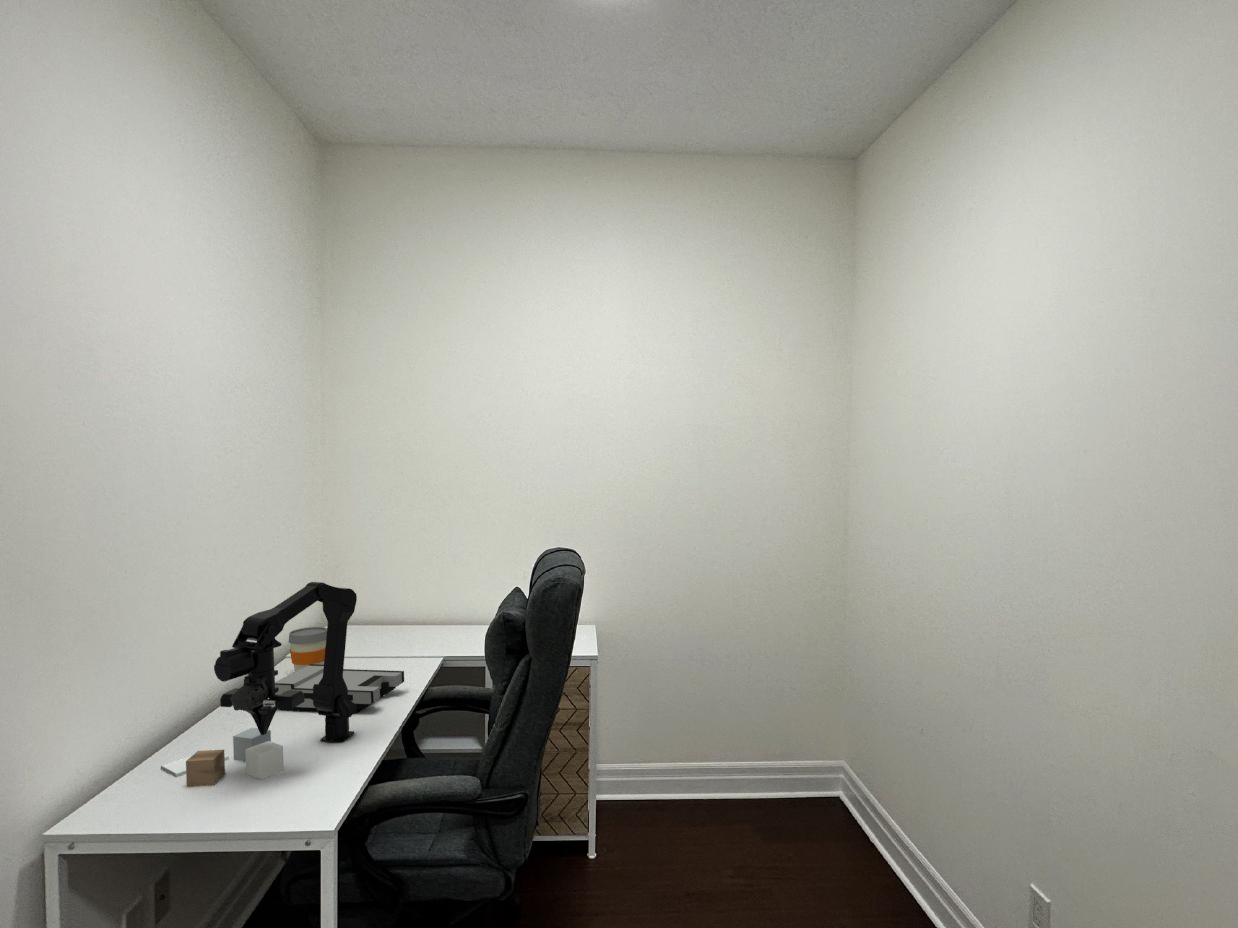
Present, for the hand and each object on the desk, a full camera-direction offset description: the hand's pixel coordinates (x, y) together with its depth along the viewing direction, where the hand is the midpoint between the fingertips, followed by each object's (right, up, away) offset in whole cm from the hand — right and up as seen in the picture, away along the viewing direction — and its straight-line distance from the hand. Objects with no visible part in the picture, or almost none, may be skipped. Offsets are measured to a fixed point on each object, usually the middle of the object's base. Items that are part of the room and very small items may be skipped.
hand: (263, 734), depth 183 cm
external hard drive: (-19, -10, +6) cm, 23 cm away
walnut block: (-12, -10, -4) cm, 15 cm away
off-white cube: (0, -9, 0) cm, 9 cm away
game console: (0, -8, +50) cm, 51 cm away
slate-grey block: (-7, -9, +10) cm, 15 cm away
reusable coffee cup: (-20, -8, +78) cm, 81 cm away
